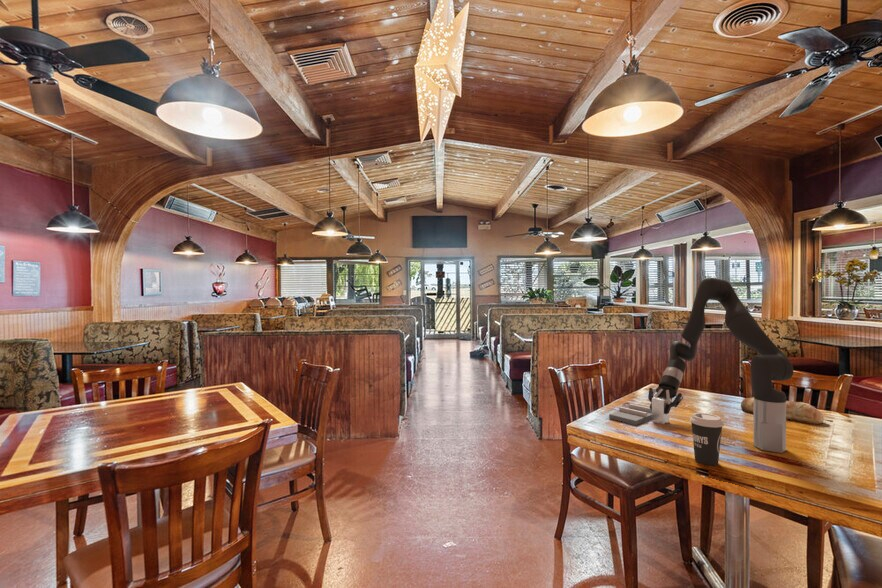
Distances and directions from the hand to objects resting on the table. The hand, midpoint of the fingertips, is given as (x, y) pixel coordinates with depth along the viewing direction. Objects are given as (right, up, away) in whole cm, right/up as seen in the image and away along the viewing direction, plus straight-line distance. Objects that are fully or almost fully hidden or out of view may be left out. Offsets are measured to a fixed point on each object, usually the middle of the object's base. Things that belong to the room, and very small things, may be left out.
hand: (658, 411), depth 180 cm
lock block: (+1, -5, +1) cm, 5 cm away
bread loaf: (+58, -5, +8) cm, 59 cm away
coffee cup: (-5, -5, -40) cm, 41 cm away
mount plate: (-5, -5, +9) cm, 11 cm away
